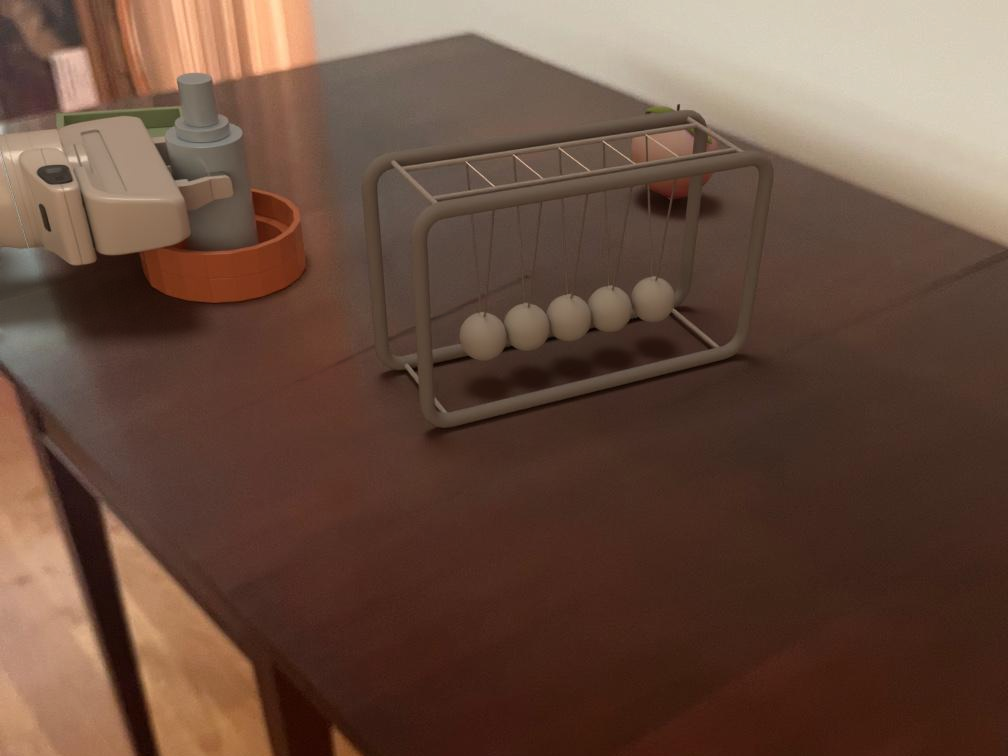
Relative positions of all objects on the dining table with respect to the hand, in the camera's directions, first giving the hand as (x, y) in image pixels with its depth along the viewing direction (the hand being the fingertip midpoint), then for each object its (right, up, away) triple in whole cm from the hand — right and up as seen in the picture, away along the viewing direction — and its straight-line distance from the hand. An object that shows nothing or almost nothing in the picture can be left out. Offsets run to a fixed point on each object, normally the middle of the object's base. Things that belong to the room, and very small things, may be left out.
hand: (220, 167), depth 101 cm
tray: (-17, +9, +24) cm, 31 cm away
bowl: (-1, -7, +6) cm, 10 cm away
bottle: (-1, -7, +6) cm, 9 cm away
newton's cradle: (+30, -18, -3) cm, 35 cm away
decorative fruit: (+40, +5, +23) cm, 47 cm away
